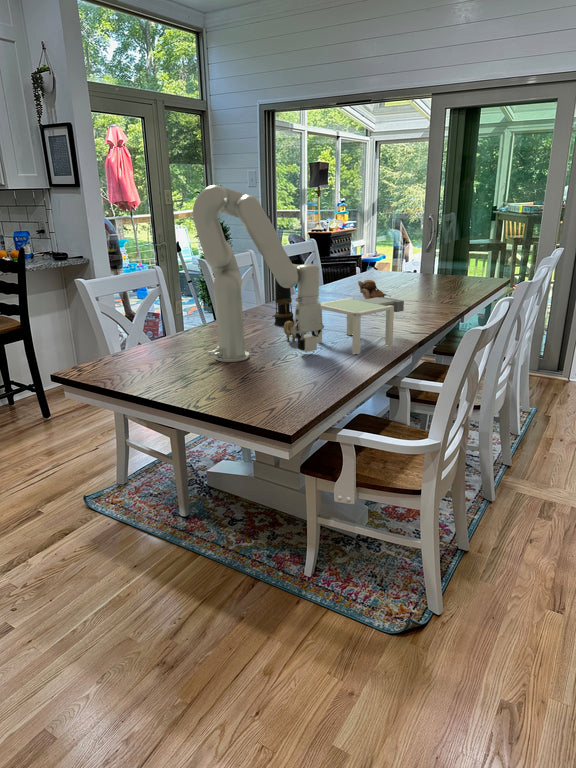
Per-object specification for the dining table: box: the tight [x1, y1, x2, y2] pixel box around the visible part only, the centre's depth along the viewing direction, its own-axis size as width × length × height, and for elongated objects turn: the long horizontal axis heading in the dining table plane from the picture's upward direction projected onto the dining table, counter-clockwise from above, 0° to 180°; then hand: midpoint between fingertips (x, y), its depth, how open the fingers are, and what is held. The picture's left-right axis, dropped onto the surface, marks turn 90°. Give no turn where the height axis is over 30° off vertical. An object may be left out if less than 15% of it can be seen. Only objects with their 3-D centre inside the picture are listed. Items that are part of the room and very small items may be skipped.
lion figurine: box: [283, 321, 307, 343], centre depth 220 cm, size 15×5×9 cm, turn 152°
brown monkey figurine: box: [357, 279, 392, 300], centre depth 293 cm, size 13×16×15 cm
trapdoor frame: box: [317, 297, 395, 355], centre depth 209 cm, size 19×24×16 cm
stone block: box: [303, 333, 318, 353], centre depth 199 cm, size 5×5×5 cm
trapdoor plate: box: [324, 296, 405, 313], centre depth 211 cm, size 29×19×4 cm
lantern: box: [271, 279, 294, 327], centre depth 243 cm, size 9×9×30 cm
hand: (307, 348), depth 199 cm, fingers closed on stone block, 5 cm apart
